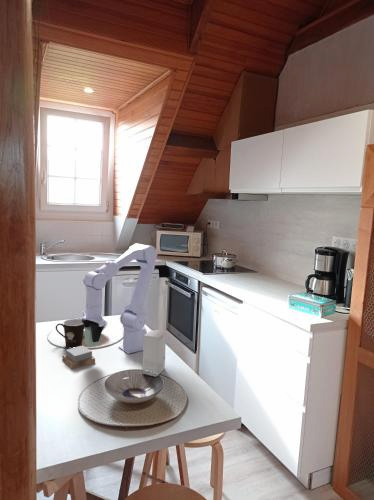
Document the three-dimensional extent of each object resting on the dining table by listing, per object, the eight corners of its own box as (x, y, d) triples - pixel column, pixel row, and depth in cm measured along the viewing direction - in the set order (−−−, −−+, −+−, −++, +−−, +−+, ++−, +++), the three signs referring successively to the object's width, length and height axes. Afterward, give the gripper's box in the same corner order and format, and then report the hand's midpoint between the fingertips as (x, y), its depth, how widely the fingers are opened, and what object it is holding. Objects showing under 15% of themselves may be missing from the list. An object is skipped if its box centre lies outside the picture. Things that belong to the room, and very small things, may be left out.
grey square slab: (82, 351, 143) (82, 345, 143) (91, 357, 139) (92, 351, 138) (65, 356, 138) (65, 349, 138) (74, 362, 134) (75, 356, 133)
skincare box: (156, 378, 129) (158, 338, 128) (140, 375, 131) (142, 335, 129) (165, 368, 137) (167, 330, 135) (150, 365, 139) (152, 327, 137)
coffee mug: (88, 344, 155) (89, 322, 154) (72, 351, 148) (73, 327, 146) (70, 338, 161) (70, 316, 160) (53, 343, 154) (54, 320, 152)
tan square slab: (84, 356, 145) (85, 350, 145) (95, 364, 138) (95, 358, 138) (62, 361, 140) (62, 355, 139) (71, 370, 133) (72, 363, 132)
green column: (95, 340, 141) (95, 325, 140) (100, 344, 138) (101, 329, 137) (84, 342, 138) (84, 327, 137) (89, 347, 135) (90, 331, 134)
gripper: (75, 300, 139) (74, 335, 140) (92, 310, 128) (91, 348, 130) (92, 298, 143) (91, 332, 145) (110, 308, 132) (109, 344, 134)
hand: (92, 339), depth 138 cm, fingers closed on green column, 4 cm apart
